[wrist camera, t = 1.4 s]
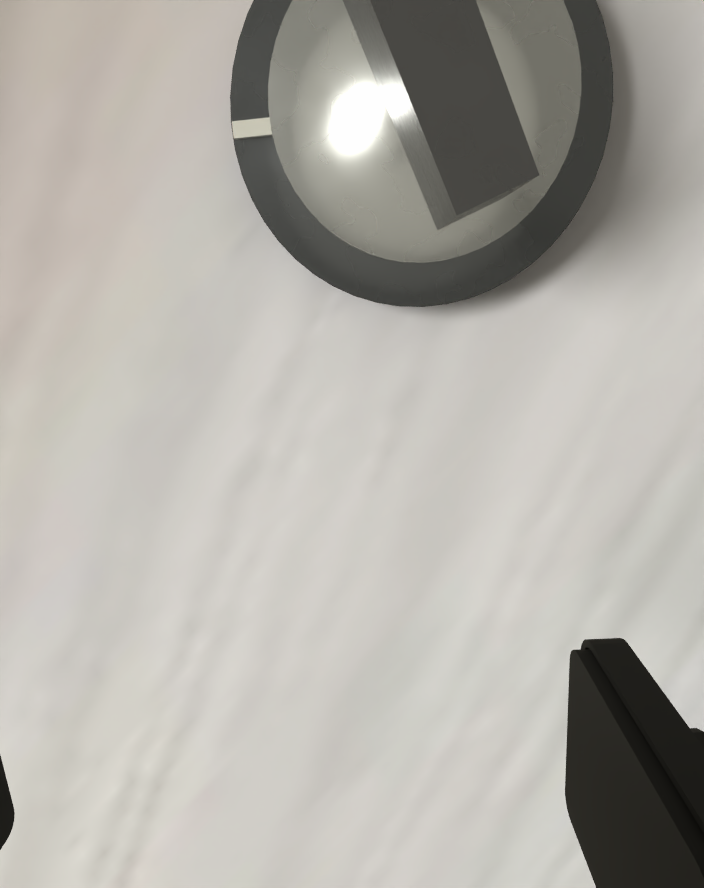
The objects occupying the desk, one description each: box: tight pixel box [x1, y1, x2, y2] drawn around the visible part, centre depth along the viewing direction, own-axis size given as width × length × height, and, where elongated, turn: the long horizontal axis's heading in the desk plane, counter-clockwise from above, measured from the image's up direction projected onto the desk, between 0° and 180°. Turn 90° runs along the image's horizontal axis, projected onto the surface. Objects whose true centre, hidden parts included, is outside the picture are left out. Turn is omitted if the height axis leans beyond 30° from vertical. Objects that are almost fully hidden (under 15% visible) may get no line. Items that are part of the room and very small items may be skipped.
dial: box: [268, 0, 581, 263], centre depth 23 cm, size 14×13×8 cm
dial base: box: [230, 0, 613, 307], centre depth 28 cm, size 17×17×2 cm
